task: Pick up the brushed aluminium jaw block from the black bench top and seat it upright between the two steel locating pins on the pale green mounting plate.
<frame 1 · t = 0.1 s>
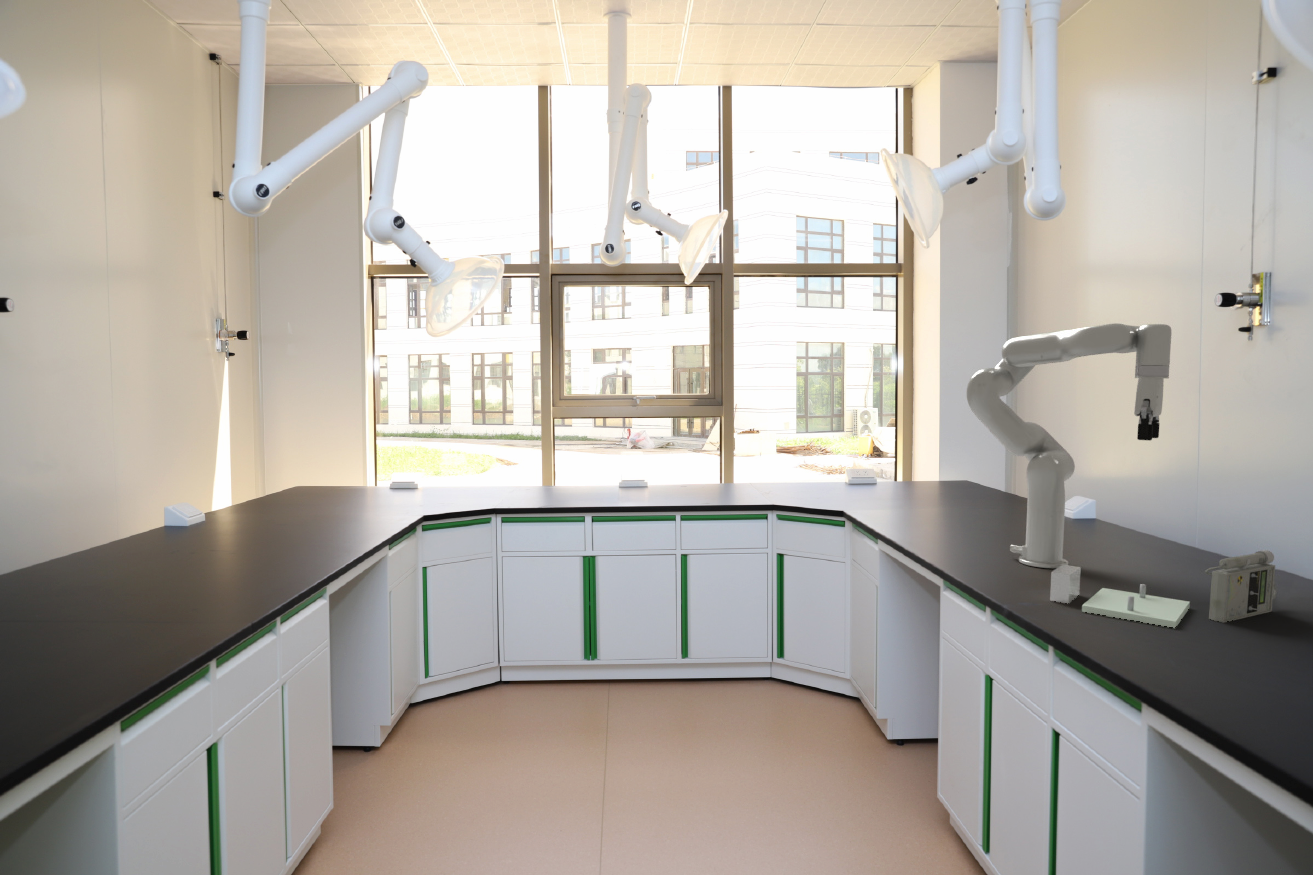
hand: (1148, 438, 214), 37 cm above the lab bench, tool pointing down, fingers open, 9 cm apart
jaw block: (1064, 598, 197), on the lab bench
geiger counter: (1244, 614, 186), on the lab bench
pin plate: (1136, 609, 188), on the lab bench
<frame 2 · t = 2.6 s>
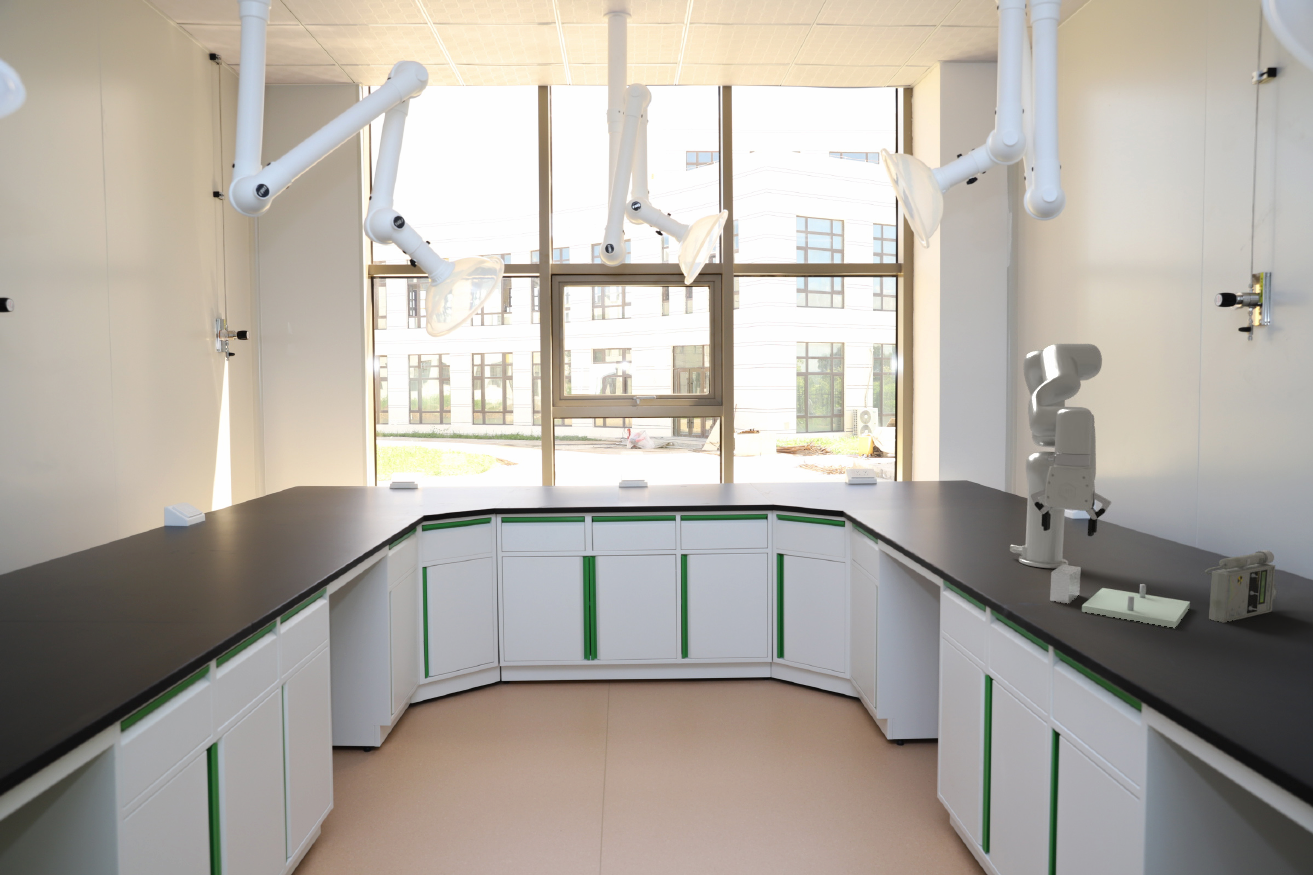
hand: (1068, 532, 196), 16 cm above the lab bench, tool pointing down, fingers open, 9 cm apart
nothing on the lab bench moved.
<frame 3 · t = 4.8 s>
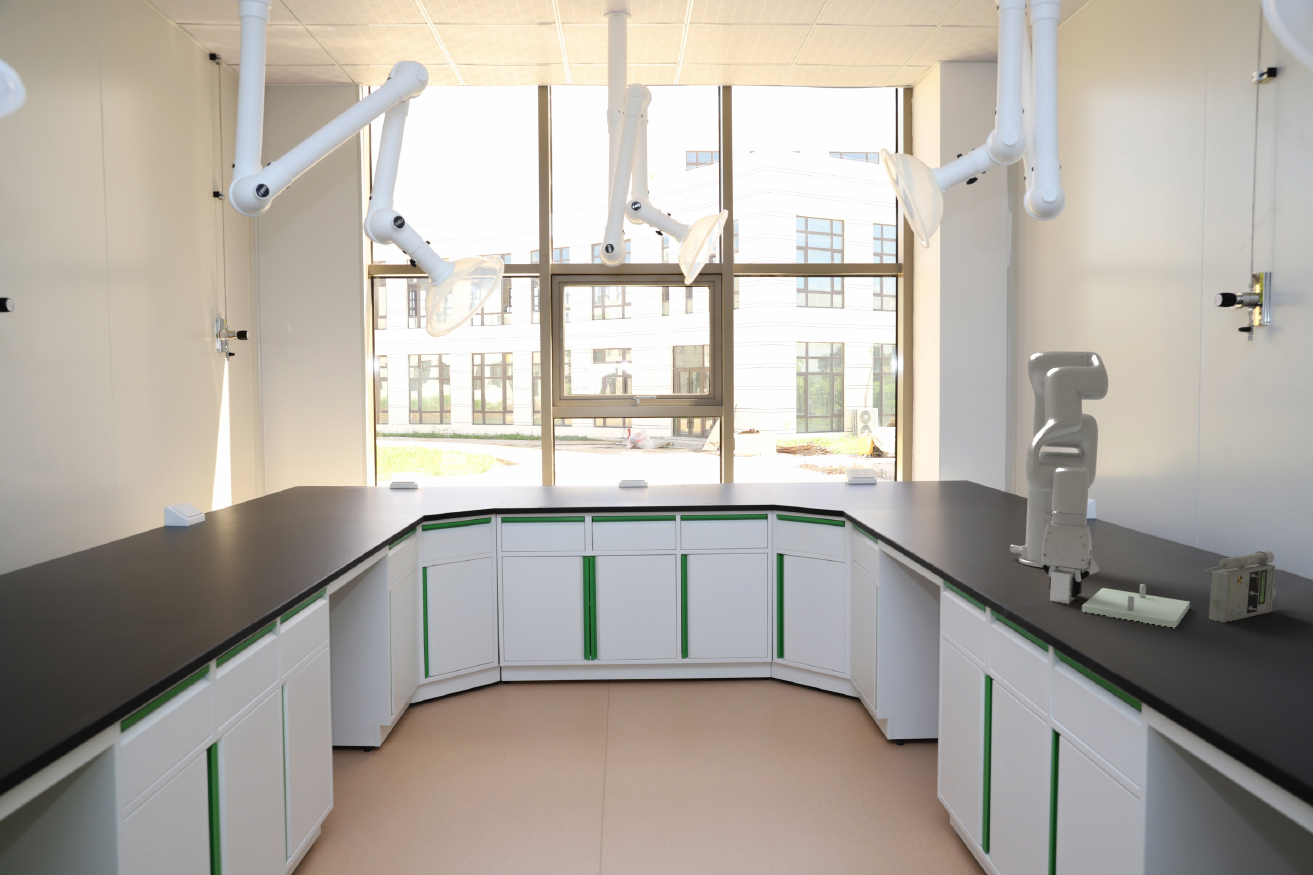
hand: (1065, 594, 197), 1 cm above the lab bench, tool pointing down, fingers closed on jaw block, 4 cm apart
jaw block: (1064, 598, 197), on the lab bench, touching gripper
everything else where it was.
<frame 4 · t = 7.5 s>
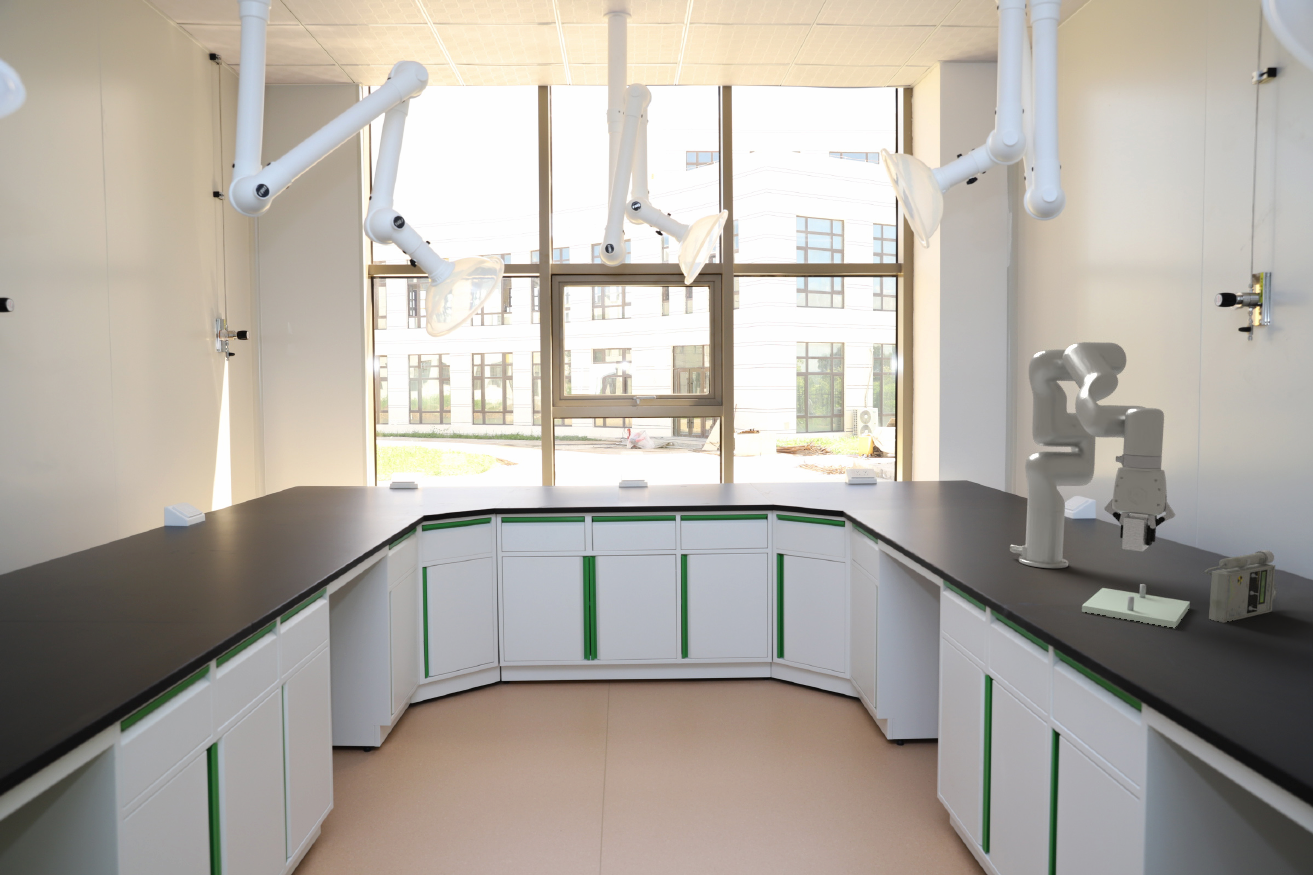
hand: (1137, 542, 187), 15 cm above the lab bench, tool pointing down, fingers closed on jaw block, 4 cm apart
jaw block: (1136, 546, 187), point 15 cm above the lab bench, touching gripper
everything else where it was.
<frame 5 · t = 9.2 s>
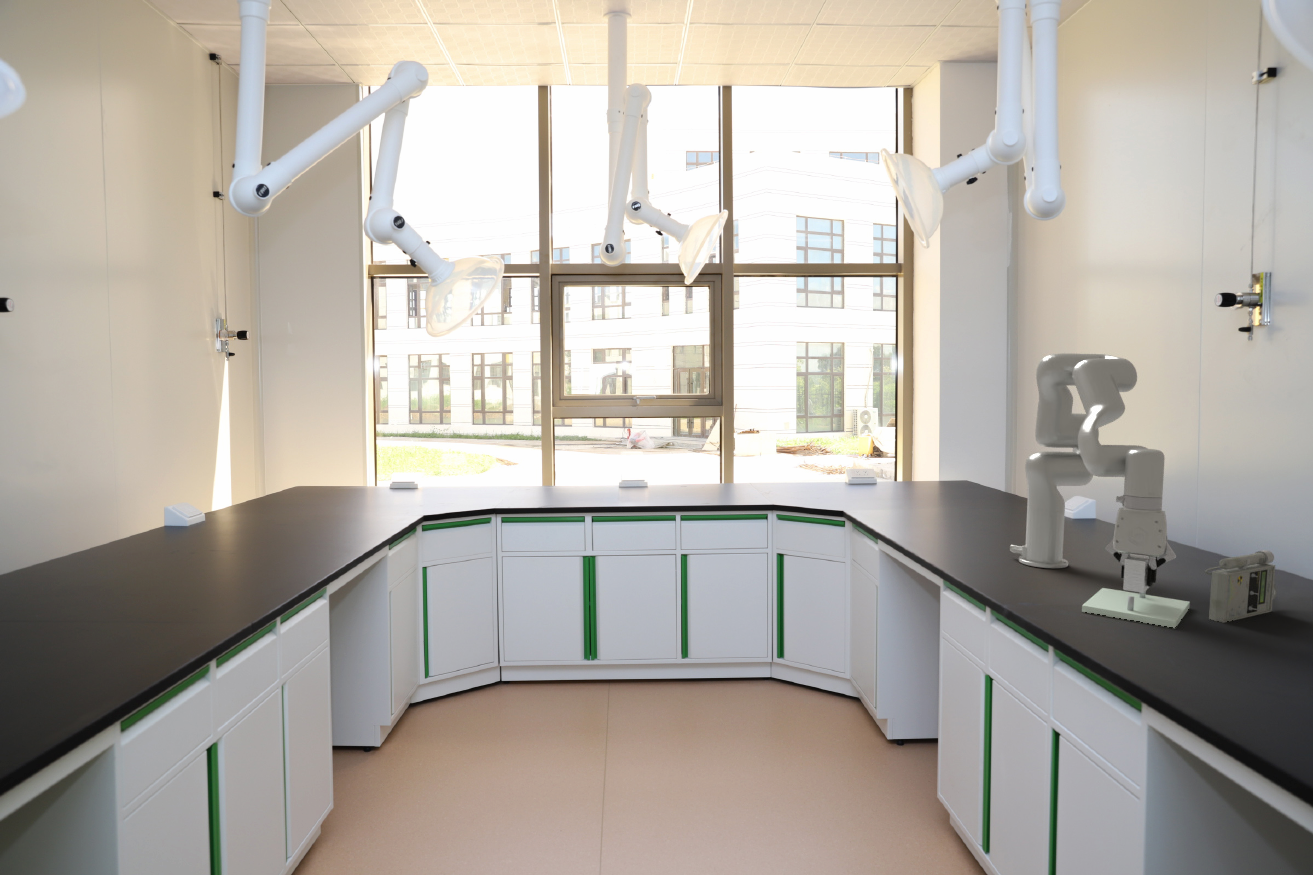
hand: (1138, 582, 187), 6 cm above the lab bench, tool pointing down, fingers closed on jaw block, 4 cm apart
jaw block: (1137, 586, 187), point 5 cm above the lab bench, touching gripper
everything else where it was.
when the fingers open (4 cm above the lab bench, at t = 10.5 s): jaw block drops 1 cm, resting on pin plate.
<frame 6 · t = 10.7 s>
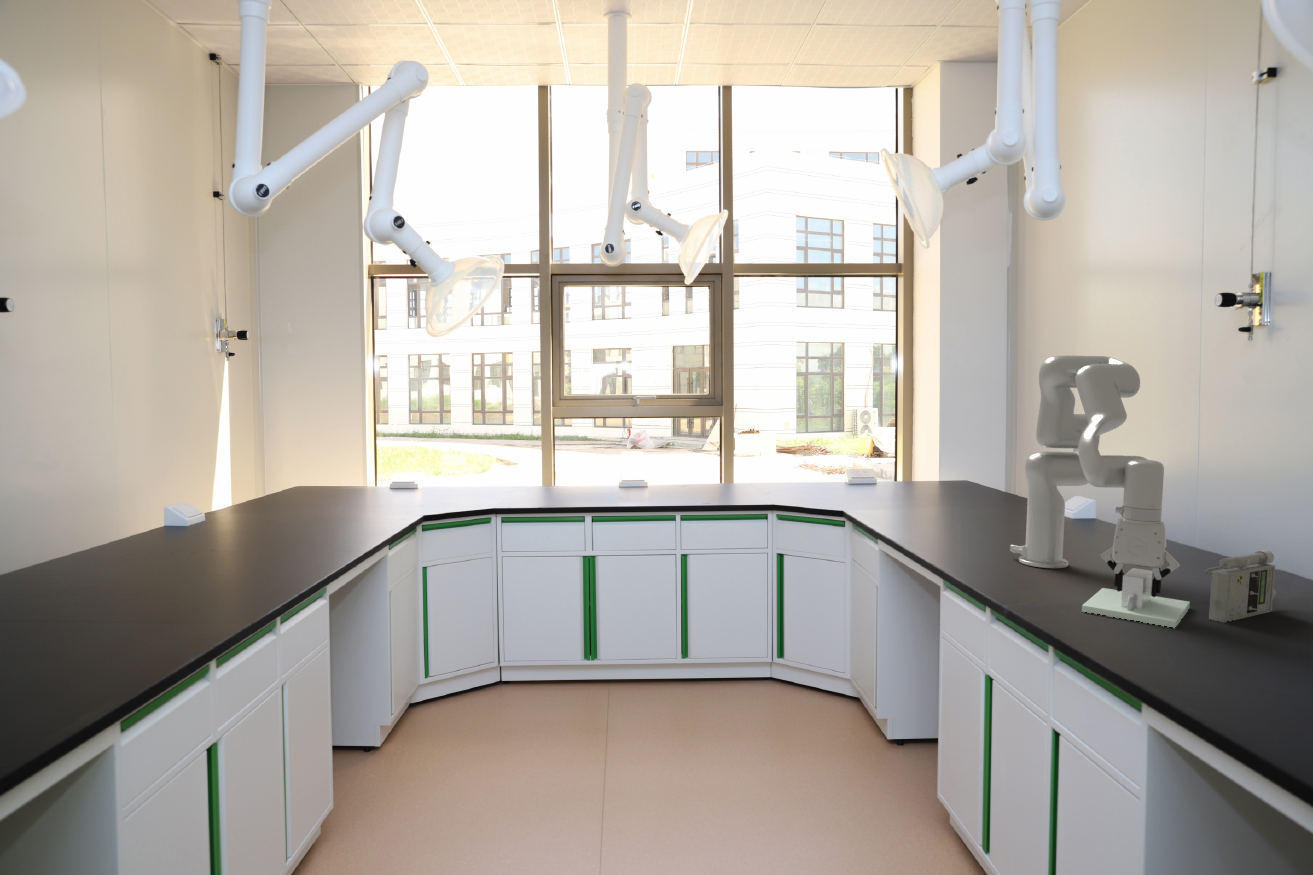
hand: (1137, 592, 187), 4 cm above the lab bench, tool pointing down, fingers open, 6 cm apart
jaw block: (1136, 603, 188), point 1 cm above the lab bench, touching pin plate
everything else where it was.
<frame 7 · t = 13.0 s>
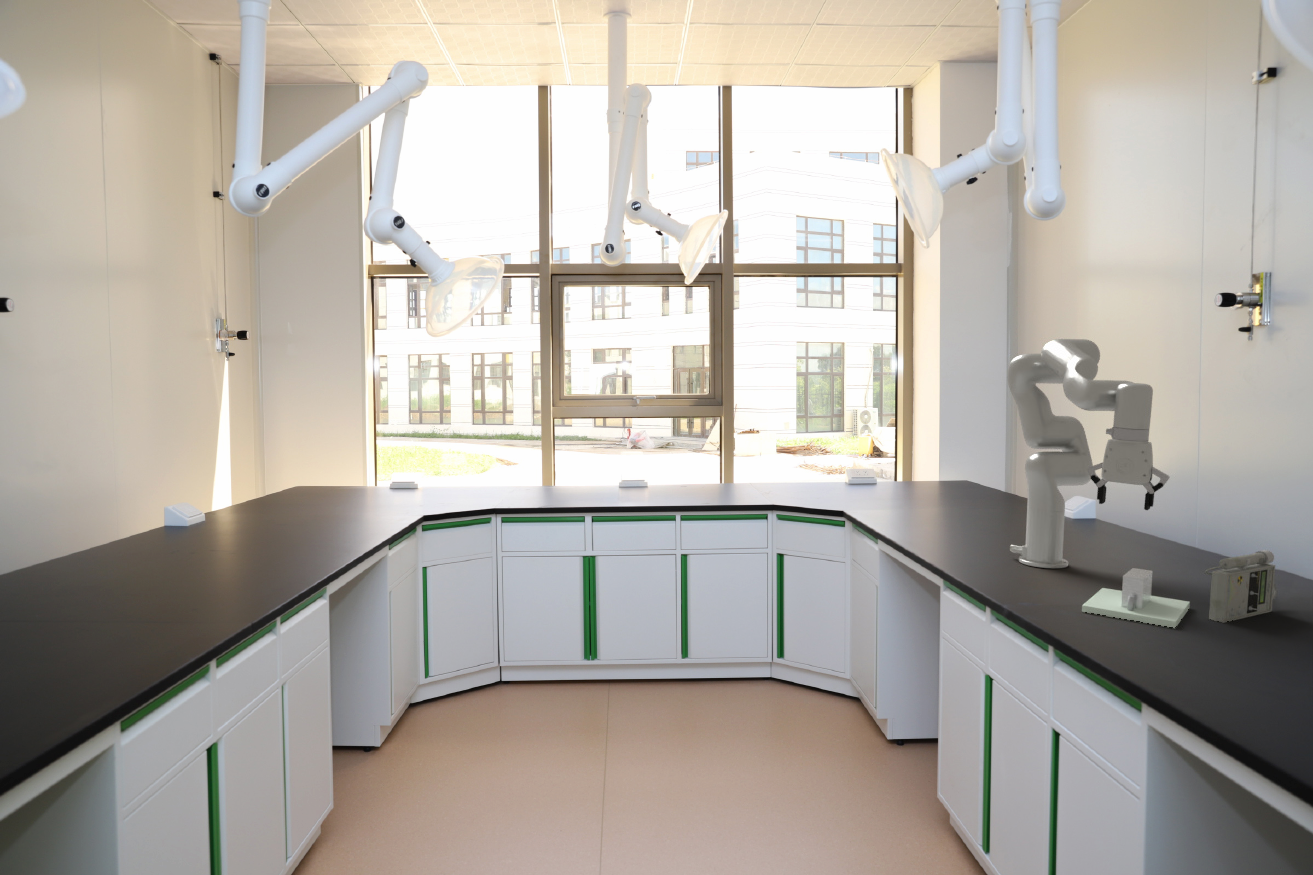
hand: (1124, 506, 198), 22 cm above the lab bench, tool pointing down, fingers open, 9 cm apart
nothing on the lab bench moved.
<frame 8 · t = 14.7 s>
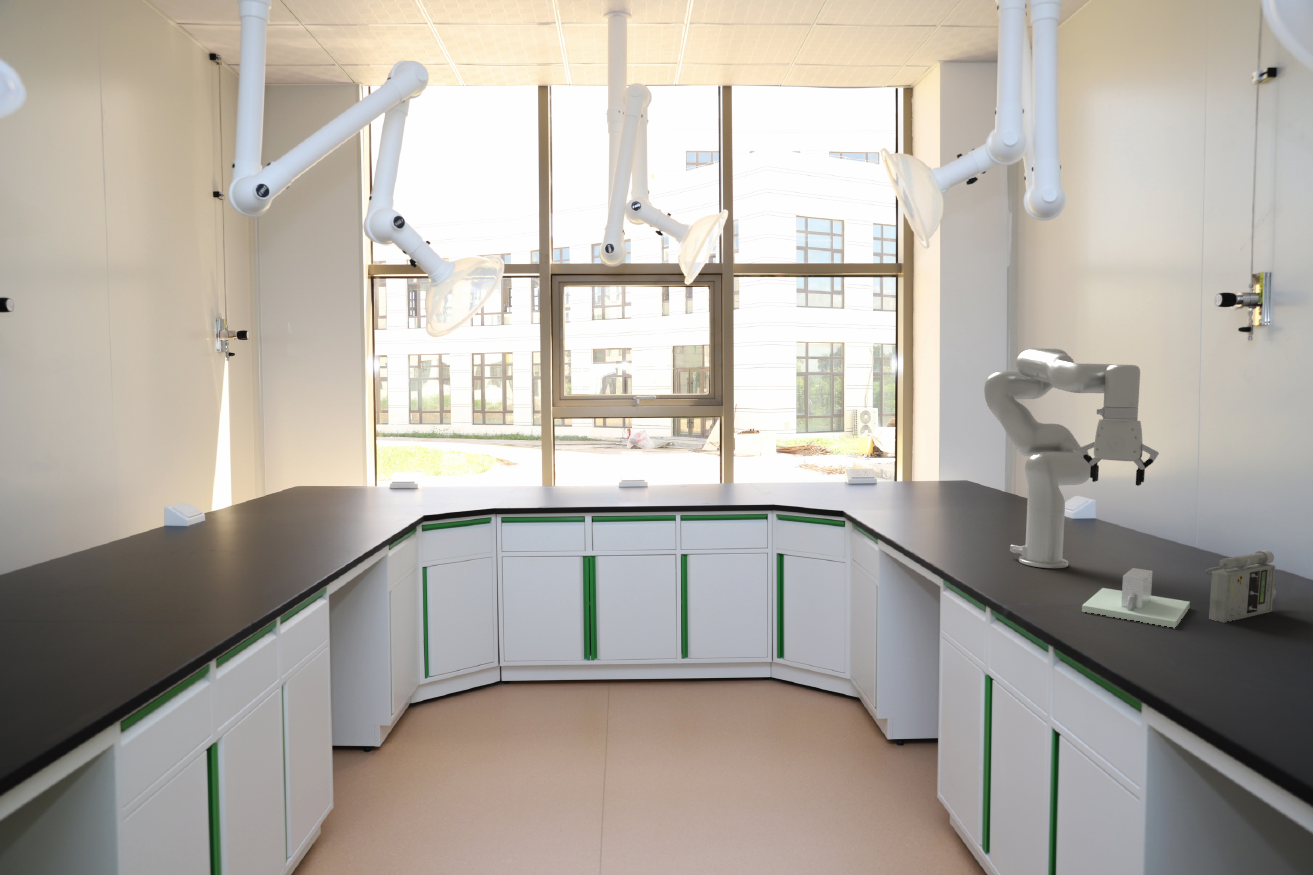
hand: (1116, 483, 206), 26 cm above the lab bench, tool pointing down, fingers open, 9 cm apart
nothing on the lab bench moved.
at the end: jaw block 0.1 cm off-centre on the pin plate, point 1.5 cm above the pin plate's base; jaw block tilted 0°; the gripper is holding nothing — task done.
